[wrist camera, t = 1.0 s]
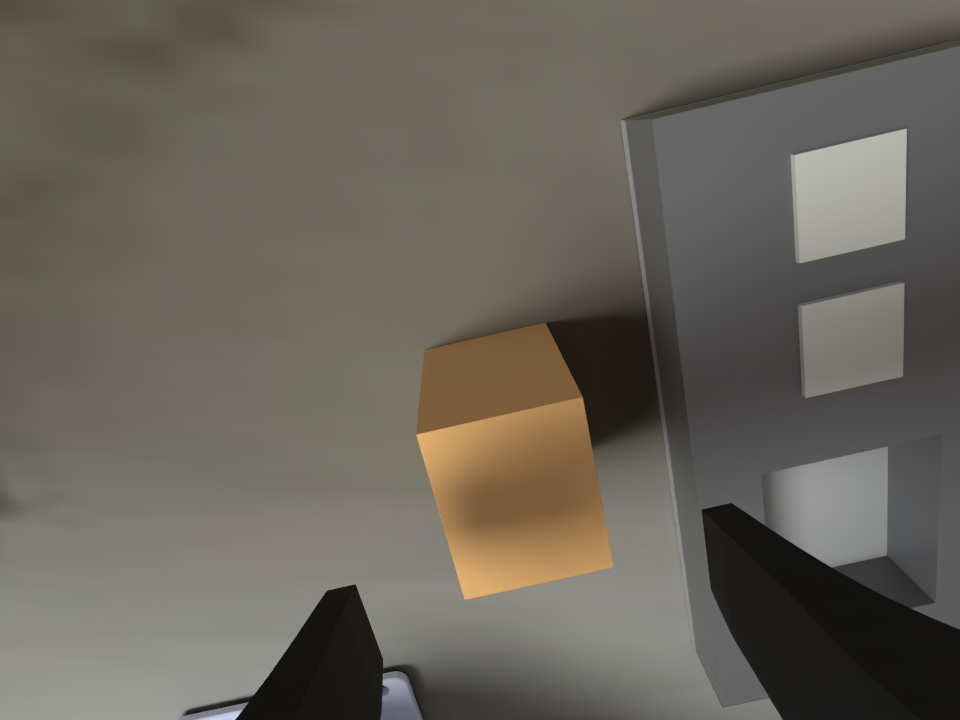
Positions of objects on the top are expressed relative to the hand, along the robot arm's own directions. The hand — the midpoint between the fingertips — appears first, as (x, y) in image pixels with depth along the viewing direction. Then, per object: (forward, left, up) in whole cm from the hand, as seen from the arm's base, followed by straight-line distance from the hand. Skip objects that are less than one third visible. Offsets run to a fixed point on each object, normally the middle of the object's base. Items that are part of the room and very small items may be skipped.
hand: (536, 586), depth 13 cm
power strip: (+10, -2, -9) cm, 14 cm away
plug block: (0, 0, -9) cm, 9 cm away
